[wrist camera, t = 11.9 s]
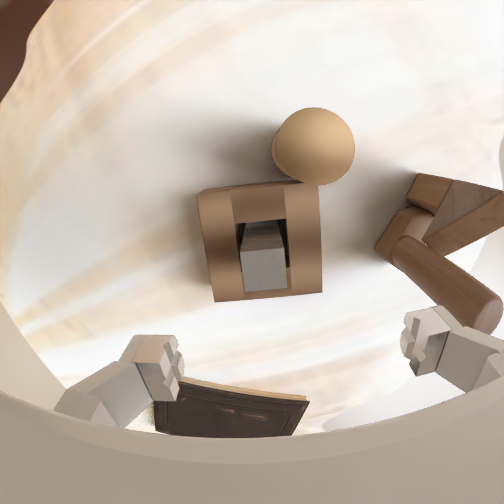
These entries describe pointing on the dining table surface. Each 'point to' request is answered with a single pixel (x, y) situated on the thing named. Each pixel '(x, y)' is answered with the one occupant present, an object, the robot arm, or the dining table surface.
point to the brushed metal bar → (263, 256)
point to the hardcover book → (228, 412)
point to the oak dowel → (313, 146)
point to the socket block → (262, 209)
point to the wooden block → (446, 245)
